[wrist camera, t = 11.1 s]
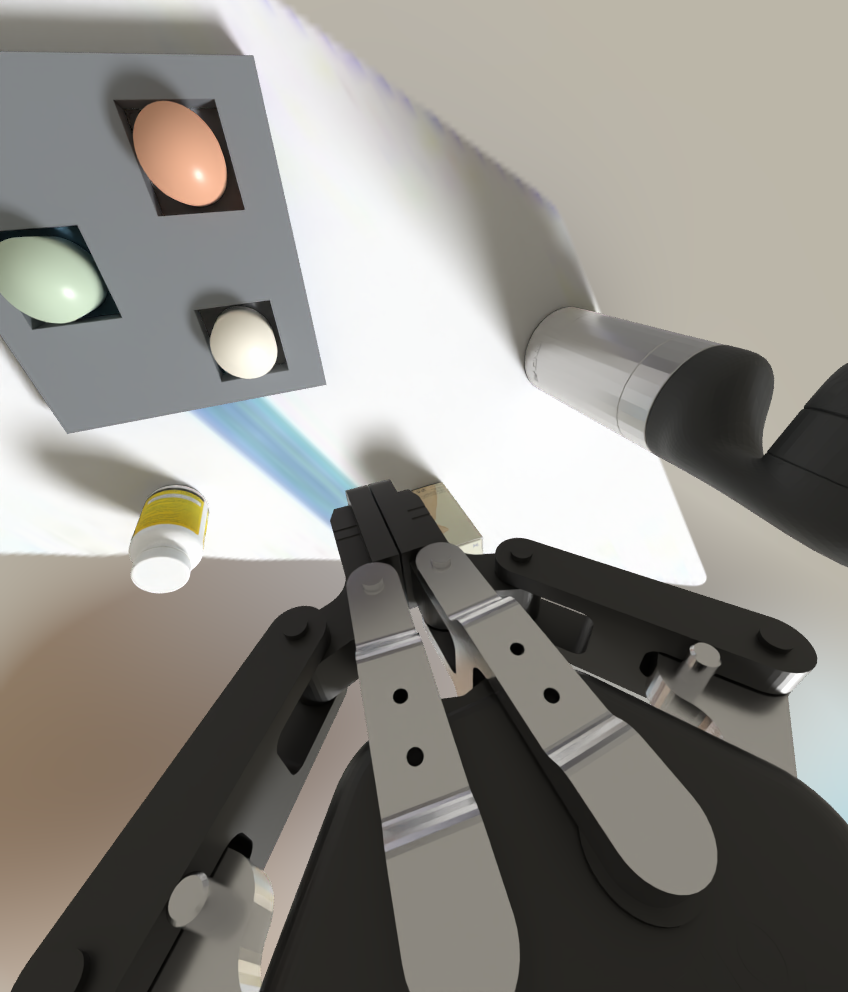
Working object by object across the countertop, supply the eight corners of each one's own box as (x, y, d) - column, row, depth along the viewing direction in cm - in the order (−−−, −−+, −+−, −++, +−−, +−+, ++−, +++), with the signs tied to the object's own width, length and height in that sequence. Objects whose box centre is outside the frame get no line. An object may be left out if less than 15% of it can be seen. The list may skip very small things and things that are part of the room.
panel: (252, 67, 25) (253, 55, 23) (322, 376, 37) (326, 384, 35) (-153, 64, 20) (-194, 48, 18) (77, 421, 32) (67, 433, 30)
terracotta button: (212, 115, 25) (207, 100, 22) (237, 204, 28) (236, 201, 25) (133, 117, 24) (116, 101, 21) (166, 209, 27) (156, 207, 24)
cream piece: (265, 302, 32) (266, 310, 29) (281, 359, 34) (284, 372, 31) (204, 310, 31) (199, 320, 28) (225, 369, 33) (223, 383, 30)
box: (410, 489, 48) (446, 547, 39) (443, 480, 49) (484, 535, 40) (414, 522, 51) (448, 582, 42) (444, 513, 52) (484, 570, 43)
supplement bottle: (134, 490, 36) (104, 560, 29) (198, 477, 38) (185, 540, 30) (159, 534, 39) (138, 607, 32) (217, 521, 41) (210, 588, 33)
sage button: (84, 232, 26) (62, 233, 23) (120, 307, 29) (105, 317, 26) (1, 239, 25) (-33, 241, 22) (47, 316, 28) (22, 328, 25)
